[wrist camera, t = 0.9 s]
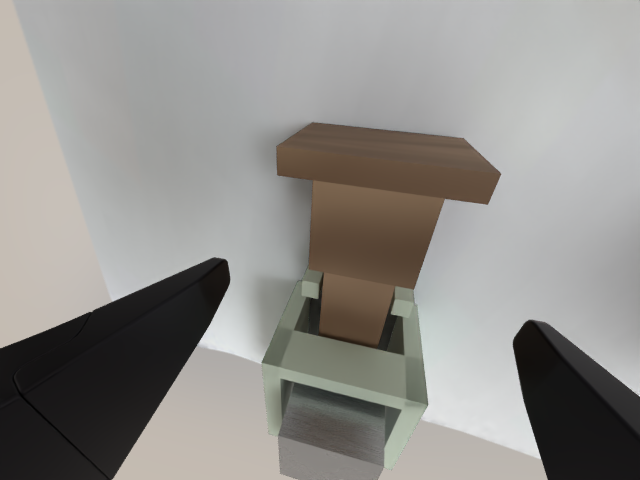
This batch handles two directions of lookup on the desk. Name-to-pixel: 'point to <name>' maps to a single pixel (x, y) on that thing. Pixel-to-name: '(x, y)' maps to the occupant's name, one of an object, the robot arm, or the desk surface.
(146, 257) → the desk surface
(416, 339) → the cradle
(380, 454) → the block
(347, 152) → the brown wooden stepped block
